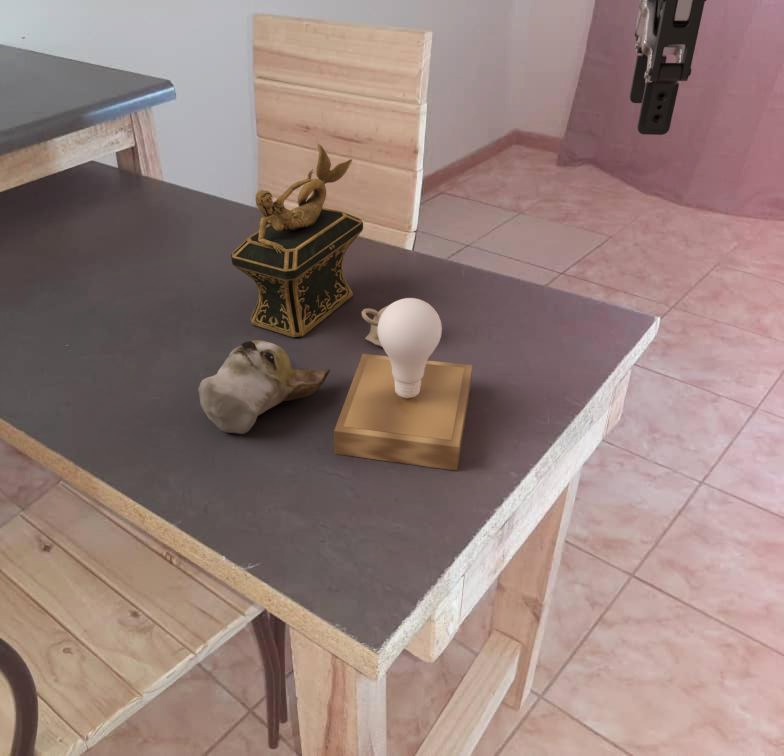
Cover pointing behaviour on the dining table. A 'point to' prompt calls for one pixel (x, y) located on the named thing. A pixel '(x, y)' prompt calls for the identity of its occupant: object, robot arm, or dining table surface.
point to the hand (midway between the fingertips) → (647, 116)
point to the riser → (405, 415)
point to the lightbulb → (409, 341)
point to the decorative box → (299, 255)
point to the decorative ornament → (373, 324)
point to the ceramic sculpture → (254, 385)
